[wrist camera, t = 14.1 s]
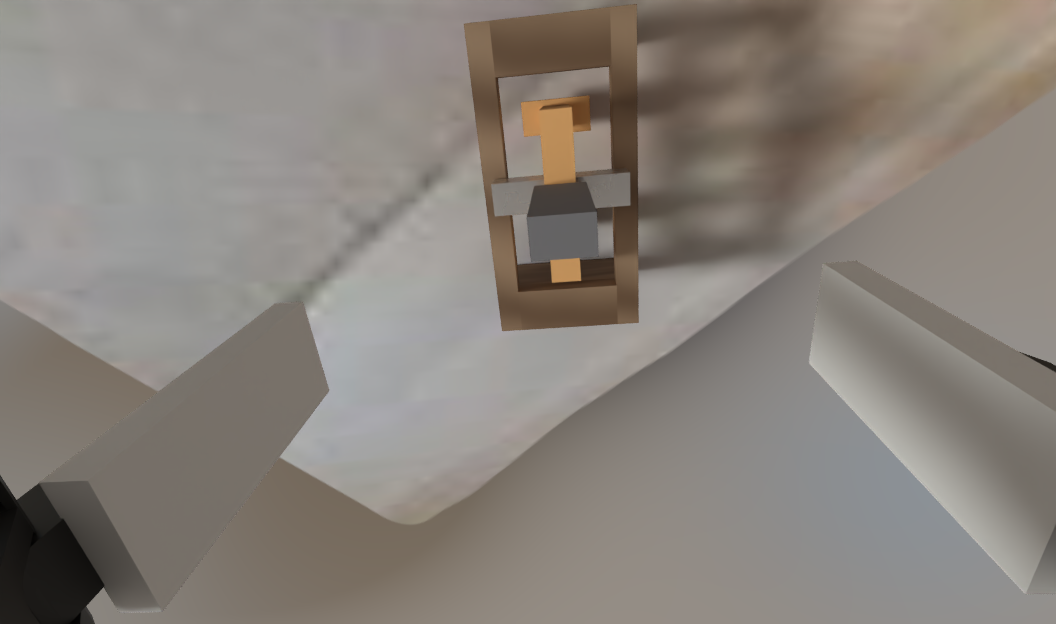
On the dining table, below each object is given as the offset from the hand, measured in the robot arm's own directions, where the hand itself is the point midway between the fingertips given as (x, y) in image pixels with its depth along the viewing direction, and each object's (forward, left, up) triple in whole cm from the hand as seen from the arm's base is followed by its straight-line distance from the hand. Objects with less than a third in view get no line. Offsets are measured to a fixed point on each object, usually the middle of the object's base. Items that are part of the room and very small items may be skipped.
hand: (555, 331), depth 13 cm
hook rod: (0, 0, -22) cm, 22 cm away
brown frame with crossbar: (0, 0, -33) cm, 33 cm away
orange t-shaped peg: (0, 0, -30) cm, 30 cm away
